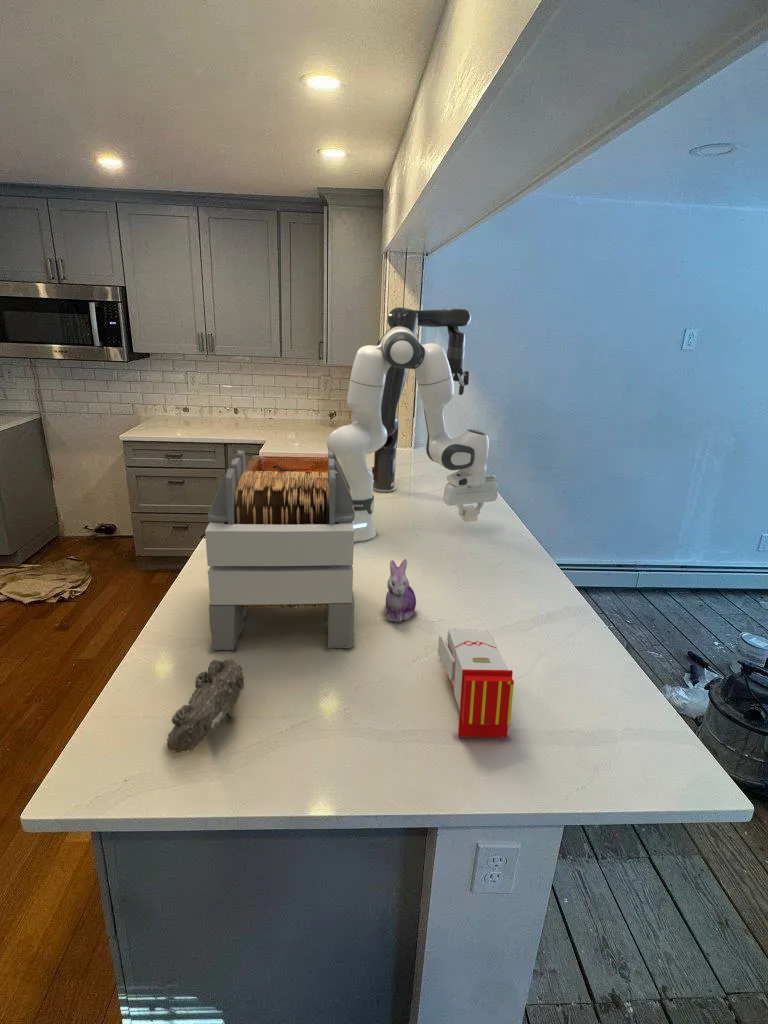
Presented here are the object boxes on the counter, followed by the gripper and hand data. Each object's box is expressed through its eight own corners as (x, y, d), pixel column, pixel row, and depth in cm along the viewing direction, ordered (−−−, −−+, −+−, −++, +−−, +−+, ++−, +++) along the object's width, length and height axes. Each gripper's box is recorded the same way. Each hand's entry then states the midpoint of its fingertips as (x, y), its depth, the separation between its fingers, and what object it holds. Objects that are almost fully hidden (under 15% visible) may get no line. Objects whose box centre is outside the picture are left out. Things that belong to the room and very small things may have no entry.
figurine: (392, 627, 141) (395, 572, 136) (374, 608, 149) (376, 556, 144) (425, 619, 145) (429, 566, 140) (405, 601, 154) (408, 550, 149)
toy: (488, 613, 130) (523, 677, 101) (484, 667, 133) (517, 744, 104) (435, 612, 130) (455, 676, 101) (432, 666, 133) (451, 743, 103)
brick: (477, 521, 199) (478, 509, 198) (465, 522, 198) (466, 510, 196) (471, 516, 203) (472, 505, 202) (459, 517, 202) (460, 506, 200)
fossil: (192, 660, 117) (244, 628, 112) (224, 691, 120) (276, 661, 115) (142, 746, 98) (202, 712, 93) (182, 779, 101) (242, 748, 96)
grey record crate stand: (230, 583, 159) (223, 441, 145) (347, 582, 163) (350, 443, 149) (209, 652, 127) (196, 479, 114) (354, 649, 131) (359, 480, 117)
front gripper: (492, 472, 202) (488, 508, 206) (442, 476, 194) (439, 514, 198) (503, 477, 196) (498, 514, 201) (452, 481, 188) (448, 520, 193)
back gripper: (465, 356, 253) (461, 393, 258) (436, 356, 247) (434, 393, 253) (473, 358, 246) (470, 395, 252) (445, 358, 241) (442, 396, 246)
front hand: (468, 514), depth 200 cm, fingers closed on brick, 5 cm apart
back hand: (452, 394), depth 252 cm, fingers open, 8 cm apart
